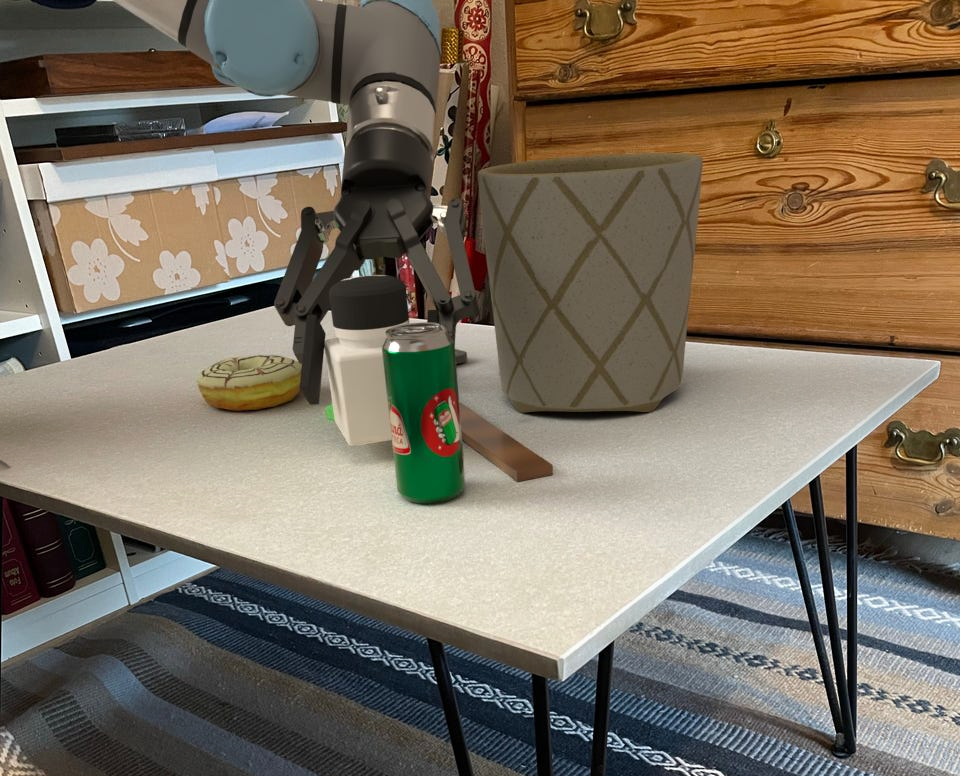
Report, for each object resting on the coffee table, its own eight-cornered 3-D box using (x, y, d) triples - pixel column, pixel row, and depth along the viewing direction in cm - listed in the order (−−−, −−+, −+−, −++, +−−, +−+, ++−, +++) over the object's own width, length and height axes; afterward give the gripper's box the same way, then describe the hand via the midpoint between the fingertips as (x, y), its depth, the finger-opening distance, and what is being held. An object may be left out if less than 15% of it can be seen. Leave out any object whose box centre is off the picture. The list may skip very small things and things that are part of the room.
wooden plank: (553, 474, 75) (552, 464, 75) (517, 481, 74) (516, 471, 74) (439, 396, 96) (439, 388, 96) (410, 401, 96) (410, 393, 95)
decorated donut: (283, 380, 106) (278, 344, 104) (322, 400, 98) (317, 362, 96) (189, 398, 102) (181, 361, 100) (221, 421, 93) (214, 381, 92)
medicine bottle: (435, 434, 80) (421, 280, 74) (348, 447, 78) (327, 291, 72) (415, 411, 86) (400, 267, 80) (334, 423, 84) (314, 277, 78)
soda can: (397, 485, 75) (379, 324, 69) (462, 478, 75) (450, 318, 70) (399, 509, 71) (380, 339, 65) (469, 502, 71) (456, 333, 65)
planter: (510, 370, 104) (500, 160, 94) (694, 367, 100) (704, 149, 90) (472, 425, 87) (455, 179, 78) (690, 425, 83) (701, 165, 74)
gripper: (250, 132, 81) (219, 374, 76) (512, 113, 78) (501, 364, 72) (280, 195, 89) (254, 420, 83) (521, 180, 85) (512, 413, 80)
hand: (369, 394), depth 78 cm, fingers closed on medicine bottle, 9 cm apart
